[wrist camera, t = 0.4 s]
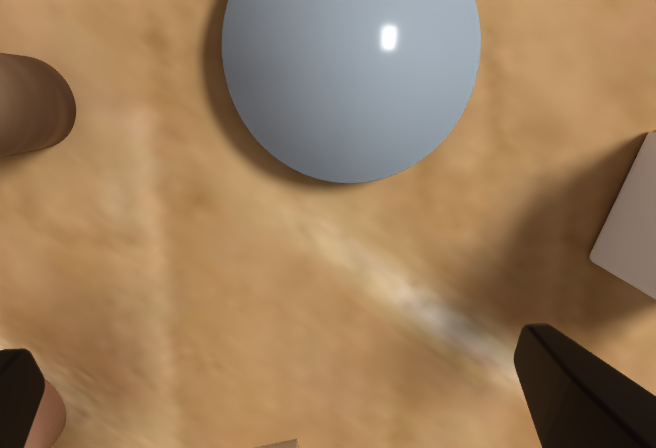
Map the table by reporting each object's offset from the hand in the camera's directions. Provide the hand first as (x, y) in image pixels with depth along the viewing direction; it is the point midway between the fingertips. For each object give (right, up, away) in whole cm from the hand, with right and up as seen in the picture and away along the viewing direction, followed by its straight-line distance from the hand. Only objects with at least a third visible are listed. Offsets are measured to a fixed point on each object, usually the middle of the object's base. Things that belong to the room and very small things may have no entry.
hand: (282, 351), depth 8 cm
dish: (+2, +10, +11) cm, 15 cm away
